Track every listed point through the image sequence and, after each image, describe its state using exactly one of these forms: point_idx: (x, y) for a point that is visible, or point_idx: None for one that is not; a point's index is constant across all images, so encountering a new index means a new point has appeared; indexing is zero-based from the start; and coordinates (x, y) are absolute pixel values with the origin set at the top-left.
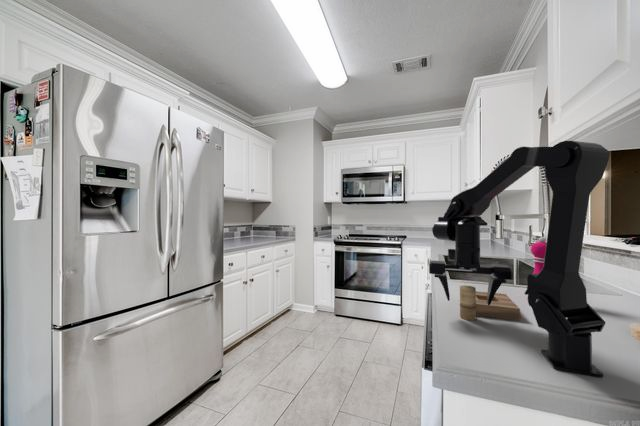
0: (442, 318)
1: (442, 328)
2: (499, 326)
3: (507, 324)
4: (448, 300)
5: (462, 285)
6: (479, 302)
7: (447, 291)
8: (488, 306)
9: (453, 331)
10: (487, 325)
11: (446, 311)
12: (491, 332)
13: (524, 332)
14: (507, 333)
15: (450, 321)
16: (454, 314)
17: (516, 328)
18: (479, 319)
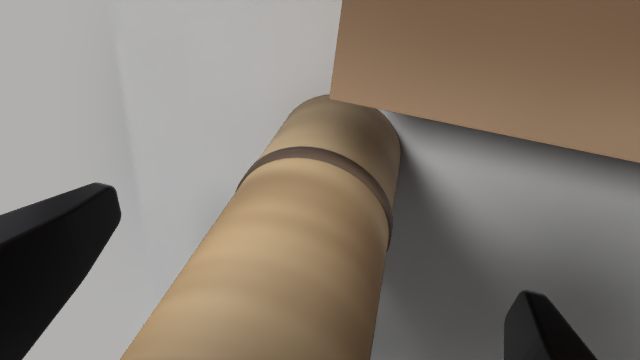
0: (158, 185)
1: None
2: (517, 281)
3: (622, 249)
4: (112, 218)
5: (143, 354)
6: (545, 43)
7: (25, 334)
8: (603, 149)
9: None
10: (433, 269)
11: (175, 14)
12: (406, 343)
13: (636, 350)
14: (498, 355)
15: (207, 227)
16: (241, 88)
17: (634, 305)
18: (427, 174)
